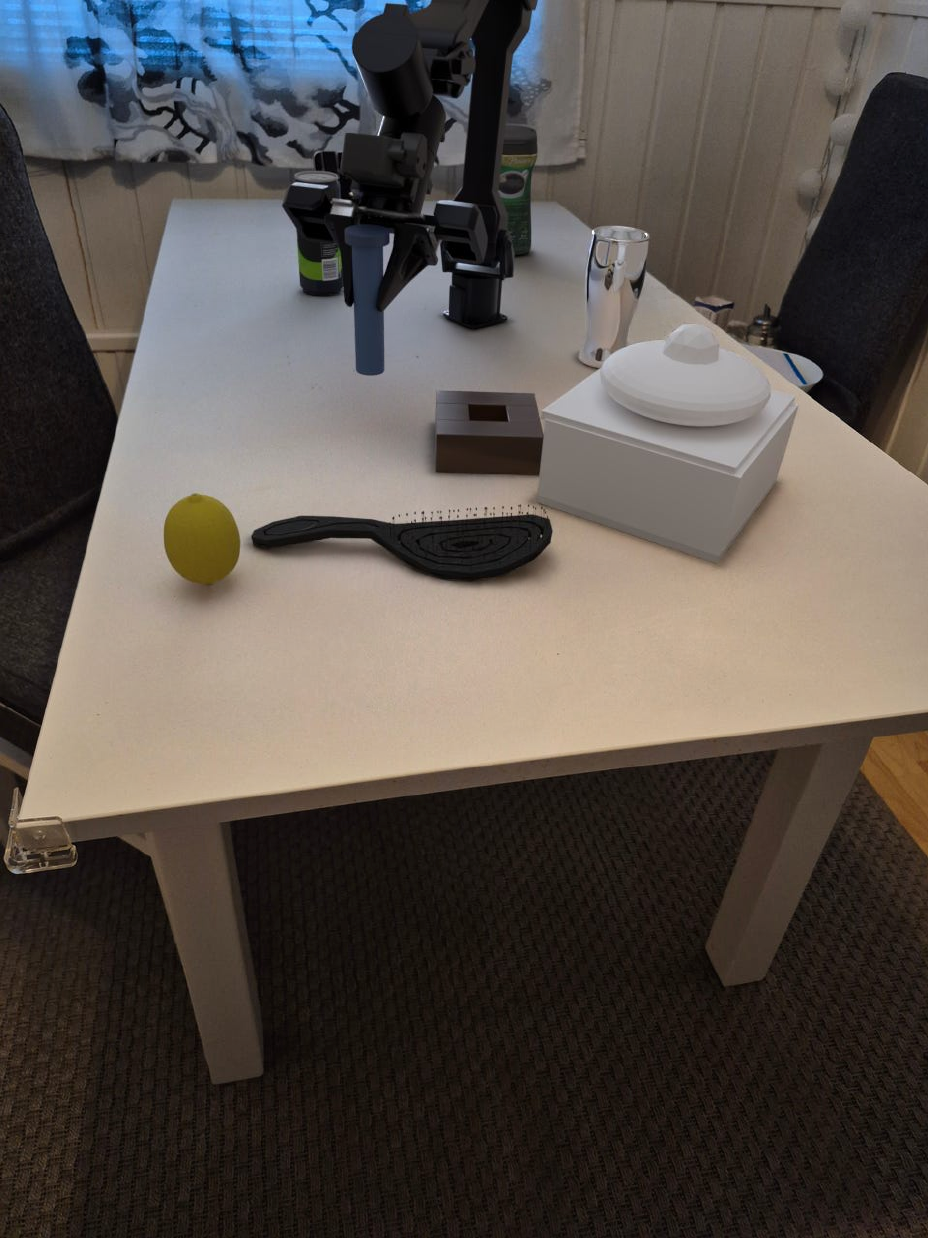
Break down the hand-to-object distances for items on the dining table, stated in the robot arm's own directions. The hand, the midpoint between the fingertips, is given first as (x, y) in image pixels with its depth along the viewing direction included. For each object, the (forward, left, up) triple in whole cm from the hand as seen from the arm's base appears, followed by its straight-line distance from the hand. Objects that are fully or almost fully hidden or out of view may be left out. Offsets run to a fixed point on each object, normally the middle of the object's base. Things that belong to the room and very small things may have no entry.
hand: (363, 307), depth 81 cm
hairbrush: (+9, +18, -14) cm, 25 cm away
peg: (-1, -1, -7) cm, 7 cm away
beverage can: (-22, -43, -14) cm, 50 cm away
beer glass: (-37, -2, -14) cm, 39 cm away
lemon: (+24, +13, -14) cm, 31 cm away
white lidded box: (-17, +24, -14) cm, 33 cm away
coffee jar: (-58, -45, -14) cm, 74 cm away
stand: (-9, +8, -13) cm, 18 cm away
